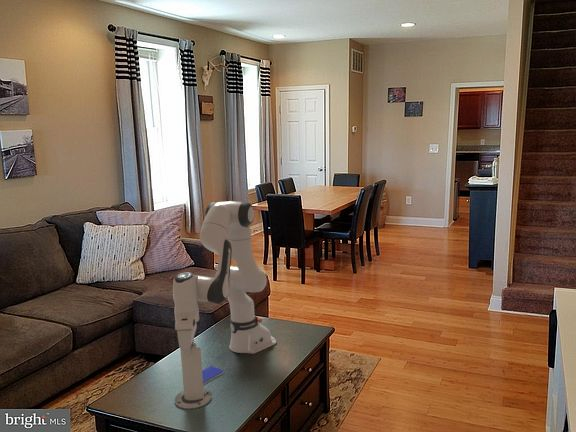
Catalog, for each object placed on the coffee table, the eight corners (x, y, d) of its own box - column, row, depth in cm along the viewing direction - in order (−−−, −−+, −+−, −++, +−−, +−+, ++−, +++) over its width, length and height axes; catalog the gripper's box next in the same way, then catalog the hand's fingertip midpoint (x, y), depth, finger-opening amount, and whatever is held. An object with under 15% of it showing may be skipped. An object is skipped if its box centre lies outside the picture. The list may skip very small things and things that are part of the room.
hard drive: (202, 382, 205) (224, 370, 214) (189, 377, 210) (210, 365, 219) (203, 386, 205) (224, 373, 215) (189, 380, 210) (210, 368, 220)
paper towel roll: (181, 396, 195) (177, 344, 191) (196, 391, 198) (192, 340, 194) (189, 404, 189) (185, 351, 185) (204, 399, 192) (200, 346, 188)
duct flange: (202, 386, 204) (202, 383, 204) (217, 401, 192) (217, 398, 192) (169, 397, 197) (169, 394, 196) (183, 413, 185) (182, 410, 185)
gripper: (182, 306, 198) (185, 339, 201) (174, 327, 178) (177, 363, 181) (198, 305, 199) (201, 338, 201) (192, 326, 179) (194, 362, 181)
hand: (189, 350), depth 191 cm, fingers open, 8 cm apart
